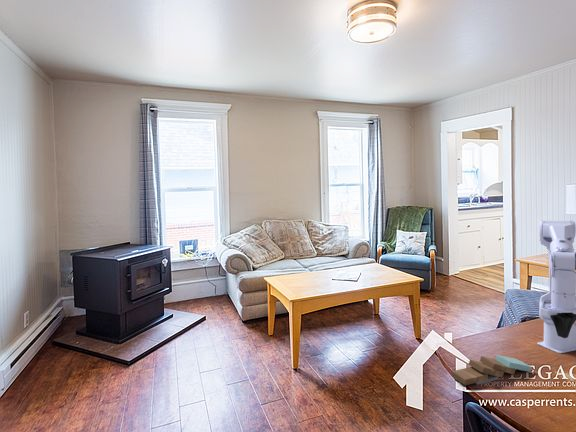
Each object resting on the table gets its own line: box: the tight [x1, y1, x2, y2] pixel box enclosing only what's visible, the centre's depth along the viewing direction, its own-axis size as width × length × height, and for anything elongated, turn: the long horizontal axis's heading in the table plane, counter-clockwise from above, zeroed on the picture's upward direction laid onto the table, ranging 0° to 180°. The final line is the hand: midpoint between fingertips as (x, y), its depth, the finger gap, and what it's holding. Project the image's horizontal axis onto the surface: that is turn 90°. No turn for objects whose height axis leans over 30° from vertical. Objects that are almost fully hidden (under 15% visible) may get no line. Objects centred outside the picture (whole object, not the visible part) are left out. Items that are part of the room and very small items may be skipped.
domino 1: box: [451, 366, 488, 386], centre depth 100 cm, size 2×5×8 cm
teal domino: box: [494, 354, 532, 373], centre depth 105 cm, size 2×5×8 cm
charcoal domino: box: [474, 374, 500, 386], centre depth 101 cm, size 2×5×8 cm
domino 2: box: [468, 359, 505, 378], centre depth 102 cm, size 2×5×8 cm
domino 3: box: [479, 355, 517, 375], centre depth 103 cm, size 2×5×8 cm
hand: (562, 336), depth 103 cm, fingers closed
